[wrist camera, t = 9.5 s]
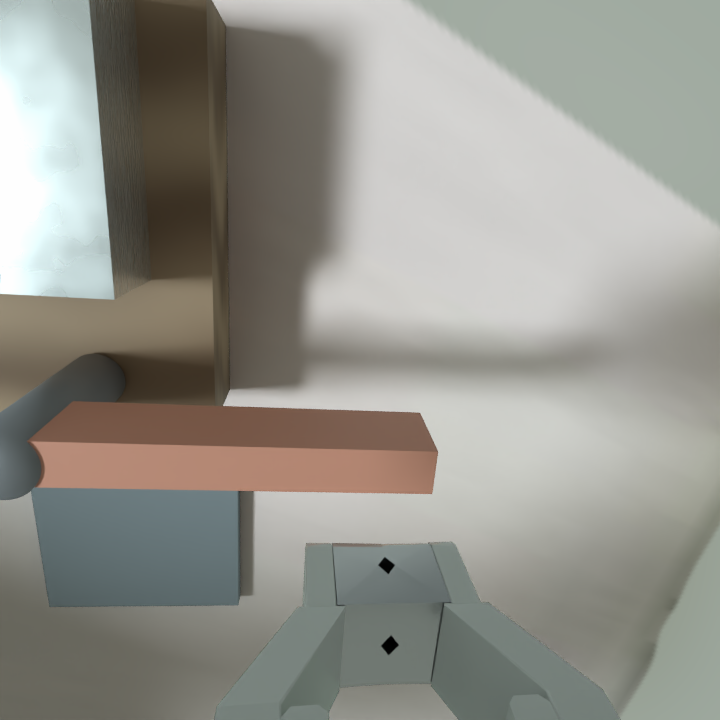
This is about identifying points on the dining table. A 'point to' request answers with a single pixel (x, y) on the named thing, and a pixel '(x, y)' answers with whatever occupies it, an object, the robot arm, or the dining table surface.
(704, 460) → the dining table surface
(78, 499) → the pad
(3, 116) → the grey-blue rectangular block
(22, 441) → the cam lever
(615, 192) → the dining table surface
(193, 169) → the body
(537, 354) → the dining table surface
